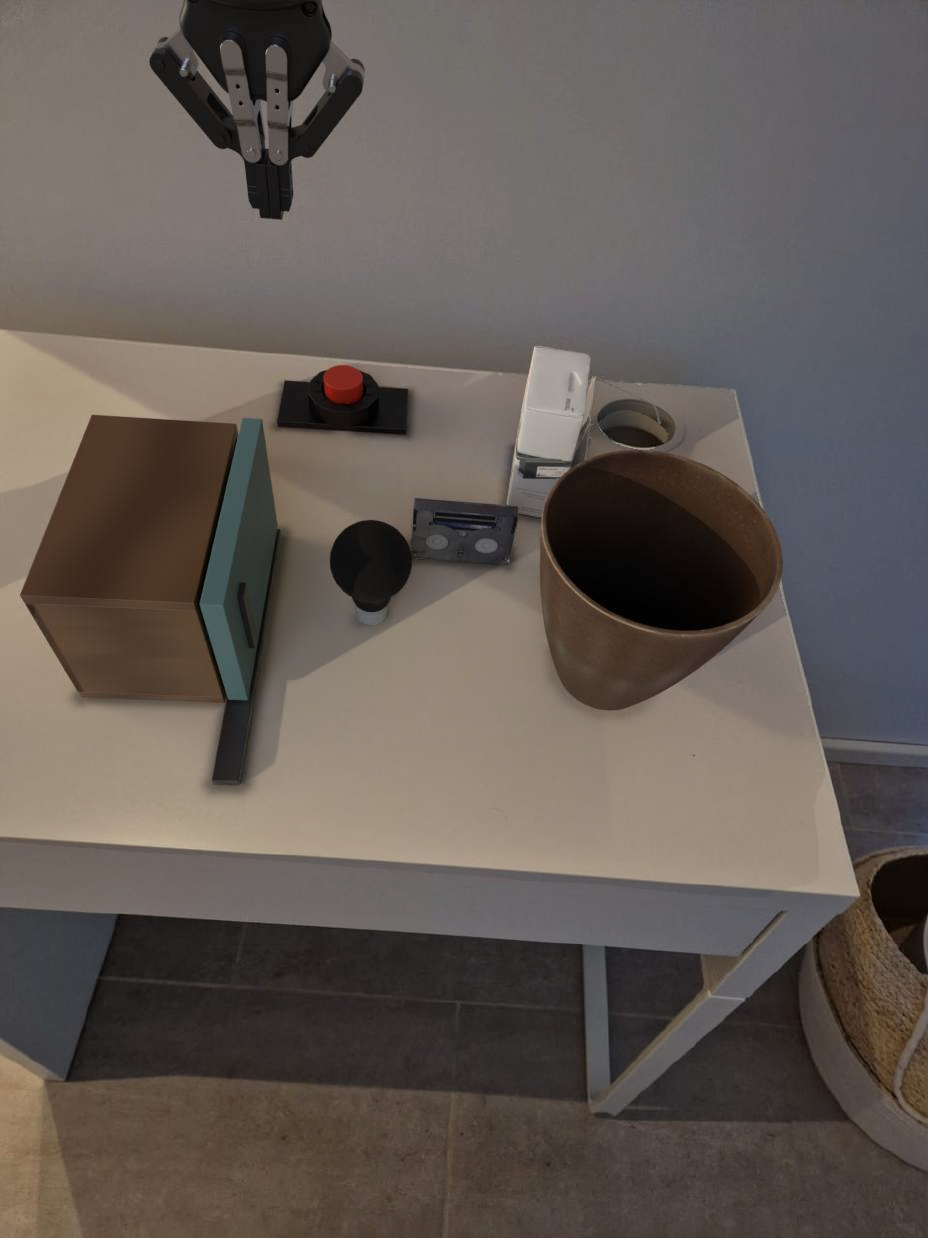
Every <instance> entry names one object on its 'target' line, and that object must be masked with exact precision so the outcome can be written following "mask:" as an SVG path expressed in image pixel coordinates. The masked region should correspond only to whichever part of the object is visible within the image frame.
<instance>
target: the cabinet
mask: <svg viewBox="0 0 928 1238" xmlns="http://www.w3.org/2000/svg"><path fill="white" fill-rule="evenodd" d="M238 435H239V430H238V427H237V423H232V422H231V423H230V422H216V421H214V422H213V421H199V420H183V419H182V420H181V419H170V418H169V419H167V418H152V417H151V418H150V417H136V416H118V415H105V414H91V415H90V418H89V421H88V423H87V425H86V428H85V430H84V433H83V436H82V438H81V441H80V443H79V446H78V448H77V451H76V452H75V456H74V458H73V461H72V463H71V466H70V468H69V470H68V473H67V475H66V477H65V480H64V484H63V486H62V488H61V491H60V493H59V496H58V498H57V501H56V503H55V506H54V508H53V511H52V513H51V516H50V518H49V521H48V523H47V526H46V528H45V531H44V533H43V536H42V538H41V541H40V543H39V546H38V549H37V551H36V553H35V556H34V559H33V561H32V564H31V566H30V568H29V571H28V573H27V576H26V578H25V581H24V584H23V586H22V588H21V591H20V593H19V597H20V598H21V600H22V602H23V603H24V605H25V606H26V608H27V610H28V612H29V613H30V615H31V617H32V618H33V620H34V622H35V623H36V625H37V627H38V629H39V630H40V632H41V633H42V635H43V637H44V638H45V640H46V642H47V643H48V645H49V646H50V648H51V650H52V652H53V653H54V655H55V657H56V659H57V660H58V662H59V663H60V665H61V667H62V668H63V670H64V672H65V673H66V675H67V677H68V678H69V680H70V681H71V683H72V685H73V687H74V688H75V690H76V692H77V693H78V695H79V697H80V698H82V699H83V698H84V699H108V700H109V699H110V700H111V699H114V700H115V699H116V700H136V701H137V700H140V701H169V702H170V701H171V702H193V703H195V702H197V703H221V704H223V703H225V706H224V709H223V710H224V711H223V716H222V721H221V727H220V732H219V737H218V742H217V748H216V752H215V759H214V764H213V769H212V774H211V779H210V780H211V785H213V786H234V787H235V786H237V787H238V786H240V785H241V781H242V780H241V779H242V774H243V768H244V763H245V757H246V750H247V743H248V738H249V733H250V726H251V720H252V715H253V714H252V713H253V708H254V702H255V695H256V690H257V683H258V679H259V672H260V666H261V660H262V653H263V649H264V643H265V642H264V641H265V635H266V631H267V623H268V618H269V612H270V611H269V610H270V605H271V599H272V593H273V587H274V580H275V577H276V576H275V575H276V570H277V569H276V568H277V563H278V556H279V550H280V544H281V538H282V529H281V528H277V534H276V540H275V546H274V551H273V557H272V563H271V569H270V575H269V581H268V587H267V592H266V598H265V604H264V610H263V616H262V622H261V628H260V633H259V639H258V645H257V651H256V657H255V663H254V669H253V674H252V680H251V686H250V692H249V698H248V700H229V699H228V697H227V694H226V690H225V687H224V684H223V680H222V677H221V674H220V670H219V667H218V664H217V660H216V657H215V654H214V650H213V647H212V644H211V640H210V637H209V634H208V630H207V627H206V624H205V621H204V617H203V614H202V611H201V607H200V600H201V596H202V592H203V587H204V583H205V579H206V574H207V570H208V566H209V561H210V557H211V553H212V548H213V544H214V540H215V535H216V531H217V527H218V522H219V518H220V514H221V509H222V505H223V501H224V496H225V492H226V487H227V483H228V479H229V474H230V470H231V466H232V461H233V457H234V453H235V448H236V444H237V440H238Z"/></svg>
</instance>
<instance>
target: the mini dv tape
mask: <svg viewBox="0 0 928 1238" xmlns="http://www.w3.org/2000/svg"><path fill="white" fill-rule="evenodd" d="M412 509H413V510H412V514H413V515H412V526H411V528H412V529H411V544H410V550H411V553H412V560H413V559H414V560H427V561H441V562H453V563H454V562H455V563H465V564H479V565H494V566H505V567H506V566H509V563H510V559H511V554H512V550H513V544H514V541H515V536H516V530H517V526H518V521H519V513H518V506H510V505H507V504H498V503H497V504H495V503H484V502H472V501H471V502H470V501H460V500H459V501H458V500H446V499H434V498H433V499H432V498H420V497H414V499H413V508H412Z"/></svg>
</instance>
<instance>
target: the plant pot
mask: <svg viewBox="0 0 928 1238" xmlns="http://www.w3.org/2000/svg"><path fill="white" fill-rule="evenodd" d="M540 522H541V523H540V540H539V542H540V545H539V585H540V601H541V610H542V611H541V612H542V618H543V624H544V625H543V626H544V630H545V635H546V641H547V645H548V648H549V652H550V655H551V658H552V661H553V665H554V668H555V671H556V673H557V676H558V678H559V680H560V682H561V684H562V686H563V688H564V689H565V691H567V692H568V694H570V696H572V697H573V699H576V701H578V702H579V703H582V704H584V705H586V706H588V707H590V708H593V709H595V710H596V709H597V710H601V711H620V710H624V709H627V708H630V707H632V706H636V705H638V704H640V703H642V702H643V703H644V702H646V701H647V700H649V699H651V698H654V697H655V696H657V695H659V694H661V693H663V692H665V691H666V690H668V689H670V688H672V687H673V686H675V685H676V684H679V683H680V682H681V681H683V680H684V679H686V678H687V677H689V676H691V675H692V674H693V673H695V672H696V671H698V670H699V669H700V668H702V667H703V666H704V665H705V664H707V663H708V662H709V661H710V660H712V659H713V658H714V657H716V656H717V655H718V654H719V653H720V652H721V651H722V650H724V649H725V648H726V647H727V646H729V644H731V642H732V641H734V640H735V639H736V638H737V637H738V636H739V635H740V634H741V633H742V632H743V631H744V630H745V629H747V627H748V626H749V625H750V624H751V623H752V622H753V621H754V620H755V619H756V618H757V617H758V616H759V615H760V614H761V613H762V612H763V611H764V610H765V609H766V608H767V607H768V605H769V604H770V603H771V602H772V600H773V598H774V597H775V595H776V594H777V592H778V589H779V587H780V585H781V581H782V577H783V573H784V571H783V569H784V557H783V549H782V545H781V544H782V543H781V541H780V538H779V535H778V533H777V530H776V528H775V526H774V524H773V522H772V520H771V518H770V517H769V515H768V514H767V513H766V512H765V510H764V509H763V507H762V506H761V505H760V504H759V502H758V501H757V500H756V499H755V498H754V497H753V496H752V495H750V493H748V491H746V490H745V489H744V488H743V487H742V486H740V485H739V484H738V483H736V482H735V481H734V480H732V479H731V478H730V477H728V476H726V475H725V474H723V473H721V472H720V471H718V470H716V469H714V468H712V467H710V466H708V465H706V464H704V463H701V462H699V461H697V460H694V459H691V458H688V457H685V456H681V455H677V454H673V453H669V452H664V451H658V450H646V449H625V450H624V449H623V450H617V451H611V452H606V453H602V454H598V455H595V456H593V457H590V458H588V459H587V458H586V460H585V461H583V462H581V463H579V464H577V465H576V466H574V467H572V468H571V469H570V470H568V471H567V472H566V473H565V474H564V475H562V476H561V477H560V478H559V480H558V481H557V482H556V483H555V484H554V486H553V487H552V489H551V490H550V492H549V494H548V496H547V498H546V500H545V504H544V507H543V512H542V518H541V521H540Z"/></svg>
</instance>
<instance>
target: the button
mask: <svg viewBox="0 0 928 1238" xmlns="http://www.w3.org/2000/svg"><path fill="white" fill-rule="evenodd" d="M326 370H327V371H326V372H325V374H324V392H325V395H326V397H327V398H328V399H329V400H330V401H332V402H334V403H342V404H350V403H353V402H356V401H358V400H360V399H361V397H362V395H363V376H362V373H361V372H360V371H359V370H360V369H359V368H356V367H354V366H352V365H346V364H339V365H334V366H331V367H329V368H328V369H326Z"/></svg>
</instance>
